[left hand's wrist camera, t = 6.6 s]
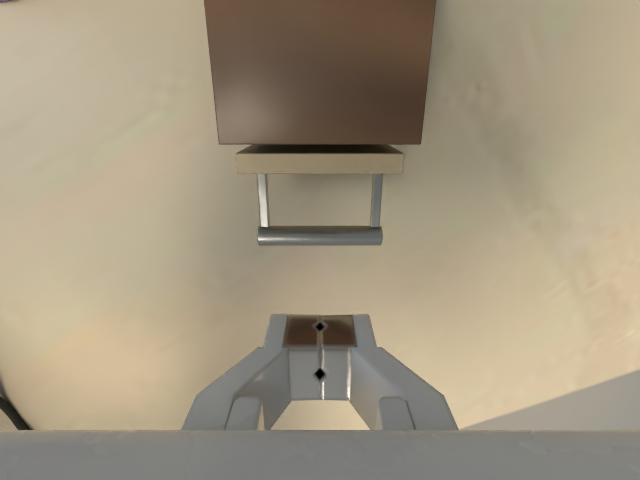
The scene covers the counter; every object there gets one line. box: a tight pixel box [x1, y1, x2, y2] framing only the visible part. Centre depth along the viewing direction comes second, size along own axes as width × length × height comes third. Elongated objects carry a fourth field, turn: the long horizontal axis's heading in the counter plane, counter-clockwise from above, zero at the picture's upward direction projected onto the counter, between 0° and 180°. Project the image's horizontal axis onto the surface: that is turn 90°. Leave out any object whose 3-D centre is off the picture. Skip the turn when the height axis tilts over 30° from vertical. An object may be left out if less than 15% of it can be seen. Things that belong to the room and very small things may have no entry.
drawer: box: [235, 144, 404, 246], centre depth 23 cm, size 24×10×10 cm, turn 0°
